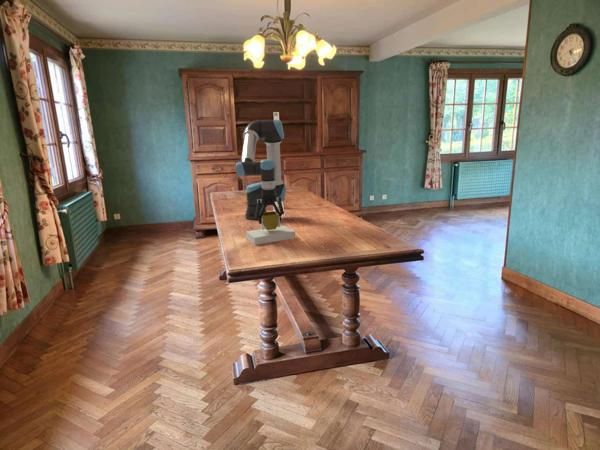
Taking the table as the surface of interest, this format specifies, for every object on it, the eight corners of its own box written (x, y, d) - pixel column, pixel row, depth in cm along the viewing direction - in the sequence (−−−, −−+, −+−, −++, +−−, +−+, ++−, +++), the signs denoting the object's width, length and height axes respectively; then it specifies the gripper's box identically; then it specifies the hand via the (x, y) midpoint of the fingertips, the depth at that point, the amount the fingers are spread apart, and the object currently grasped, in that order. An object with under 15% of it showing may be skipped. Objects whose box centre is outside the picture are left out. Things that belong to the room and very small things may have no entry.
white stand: (246, 238, 219) (246, 231, 218) (285, 232, 229) (284, 225, 228) (254, 244, 207) (254, 237, 205) (295, 238, 217) (295, 231, 216)
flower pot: (263, 231, 211) (263, 215, 209) (261, 227, 219) (260, 212, 217) (279, 230, 213) (279, 214, 211) (276, 226, 222) (275, 210, 219)
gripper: (251, 191, 202) (254, 232, 208) (289, 187, 212) (290, 226, 218) (247, 189, 209) (249, 229, 215) (283, 185, 218) (285, 223, 224)
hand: (270, 228), depth 216 cm, fingers closed on flower pot, 9 cm apart
